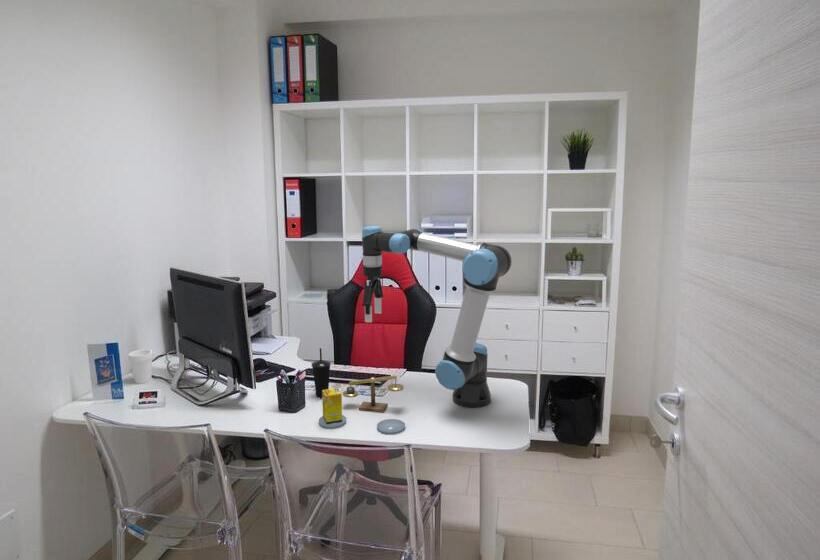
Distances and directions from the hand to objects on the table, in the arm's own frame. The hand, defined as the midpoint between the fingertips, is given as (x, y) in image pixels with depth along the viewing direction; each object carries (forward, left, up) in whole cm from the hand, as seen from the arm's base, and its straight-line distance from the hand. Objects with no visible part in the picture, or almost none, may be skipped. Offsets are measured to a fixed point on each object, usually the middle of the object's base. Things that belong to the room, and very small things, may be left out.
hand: (373, 317), depth 233 cm
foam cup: (+102, +9, -32) cm, 108 cm away
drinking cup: (+20, +8, -32) cm, 38 cm away
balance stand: (-4, +16, -32) cm, 36 cm away
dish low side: (+7, +31, -32) cm, 45 cm away
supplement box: (+7, +31, -31) cm, 44 cm away
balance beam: (-4, +16, -27) cm, 31 cm away
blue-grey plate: (-15, +31, -32) cm, 47 cm away
